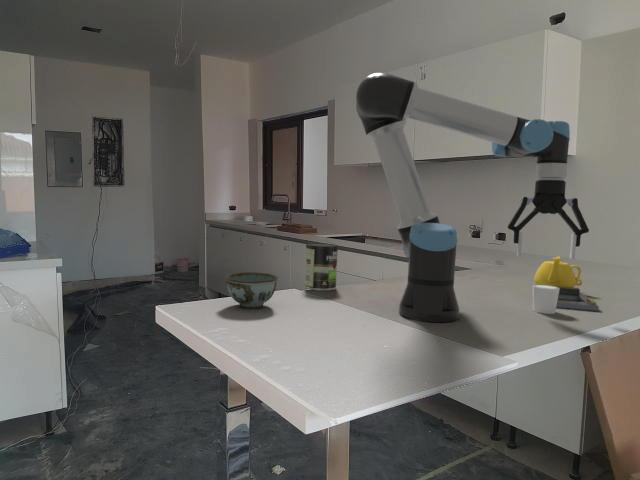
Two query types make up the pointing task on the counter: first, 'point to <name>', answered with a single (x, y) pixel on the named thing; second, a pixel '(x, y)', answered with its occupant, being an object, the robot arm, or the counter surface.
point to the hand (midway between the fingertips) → (544, 257)
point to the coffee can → (321, 266)
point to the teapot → (557, 274)
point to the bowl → (251, 288)
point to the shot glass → (545, 298)
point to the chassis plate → (573, 294)
